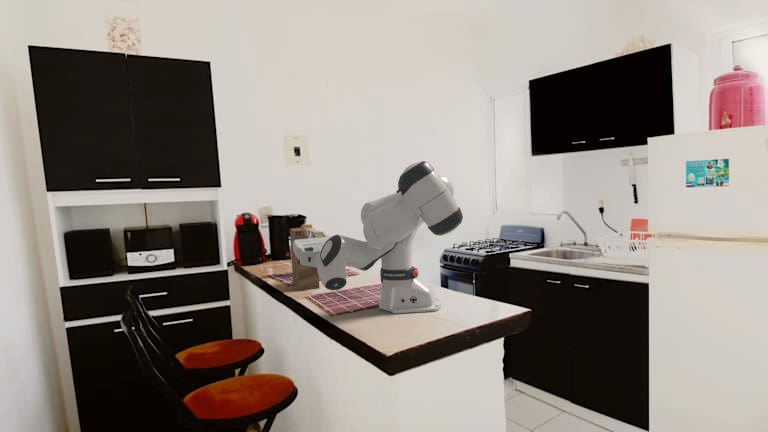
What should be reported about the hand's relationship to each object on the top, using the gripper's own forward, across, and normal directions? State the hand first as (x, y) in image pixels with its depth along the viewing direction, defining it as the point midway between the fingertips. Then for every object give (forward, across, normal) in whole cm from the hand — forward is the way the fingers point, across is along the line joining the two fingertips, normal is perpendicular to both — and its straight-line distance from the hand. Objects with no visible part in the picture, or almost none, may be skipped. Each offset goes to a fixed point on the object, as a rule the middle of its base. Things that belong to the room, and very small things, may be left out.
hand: (316, 233), depth 160 cm
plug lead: (+7, 0, +6) cm, 9 cm away
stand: (+12, 0, +38) cm, 39 cm away
